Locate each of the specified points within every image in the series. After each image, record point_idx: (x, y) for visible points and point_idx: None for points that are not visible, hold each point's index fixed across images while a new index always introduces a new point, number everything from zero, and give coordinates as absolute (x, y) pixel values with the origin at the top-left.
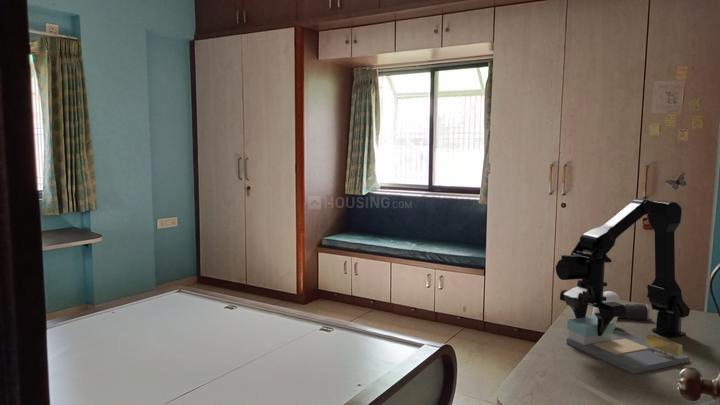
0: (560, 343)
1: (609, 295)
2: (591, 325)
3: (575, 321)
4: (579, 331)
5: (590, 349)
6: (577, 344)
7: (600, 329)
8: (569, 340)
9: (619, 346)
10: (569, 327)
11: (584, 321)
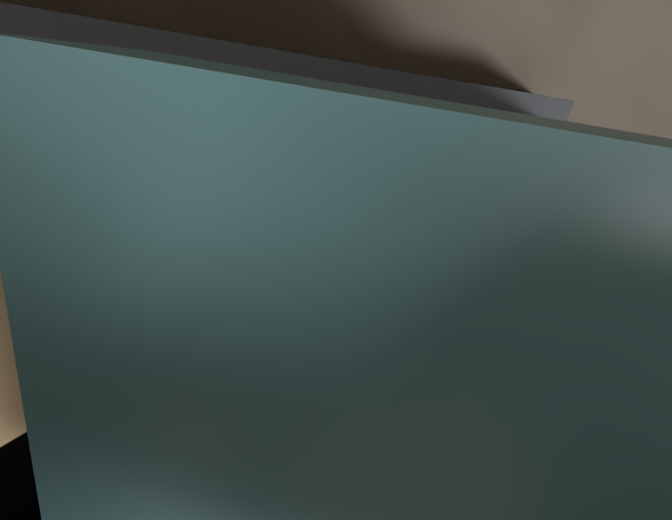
0: (593, 13)
1: None
2: (68, 382)
3: (646, 285)
4: (326, 82)
5: (79, 17)
6: (345, 62)
7: (14, 449)
8: (507, 89)
9: (3, 402)
10: (665, 139)
11: (442, 504)
